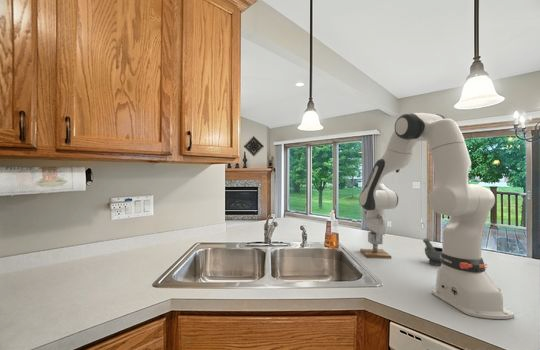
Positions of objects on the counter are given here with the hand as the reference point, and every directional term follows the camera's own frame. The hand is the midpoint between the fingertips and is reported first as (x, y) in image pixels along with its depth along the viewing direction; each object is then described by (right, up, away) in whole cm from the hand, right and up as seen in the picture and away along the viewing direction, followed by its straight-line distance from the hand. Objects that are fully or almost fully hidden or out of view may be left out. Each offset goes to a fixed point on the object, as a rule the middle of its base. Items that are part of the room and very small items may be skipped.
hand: (375, 239), depth 139 cm
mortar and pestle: (+23, -9, -13) cm, 28 cm away
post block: (0, -8, 0) cm, 8 cm away
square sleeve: (0, -2, 0) cm, 2 cm away
